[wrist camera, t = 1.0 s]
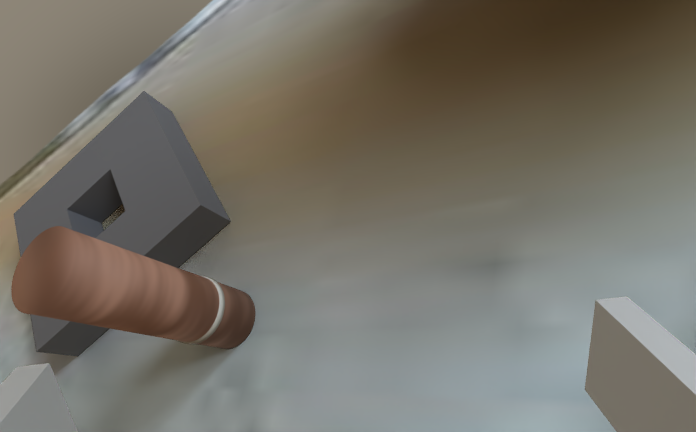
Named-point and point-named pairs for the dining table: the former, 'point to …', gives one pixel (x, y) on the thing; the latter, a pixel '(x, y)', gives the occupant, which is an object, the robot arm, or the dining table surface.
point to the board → (125, 203)
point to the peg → (126, 292)
